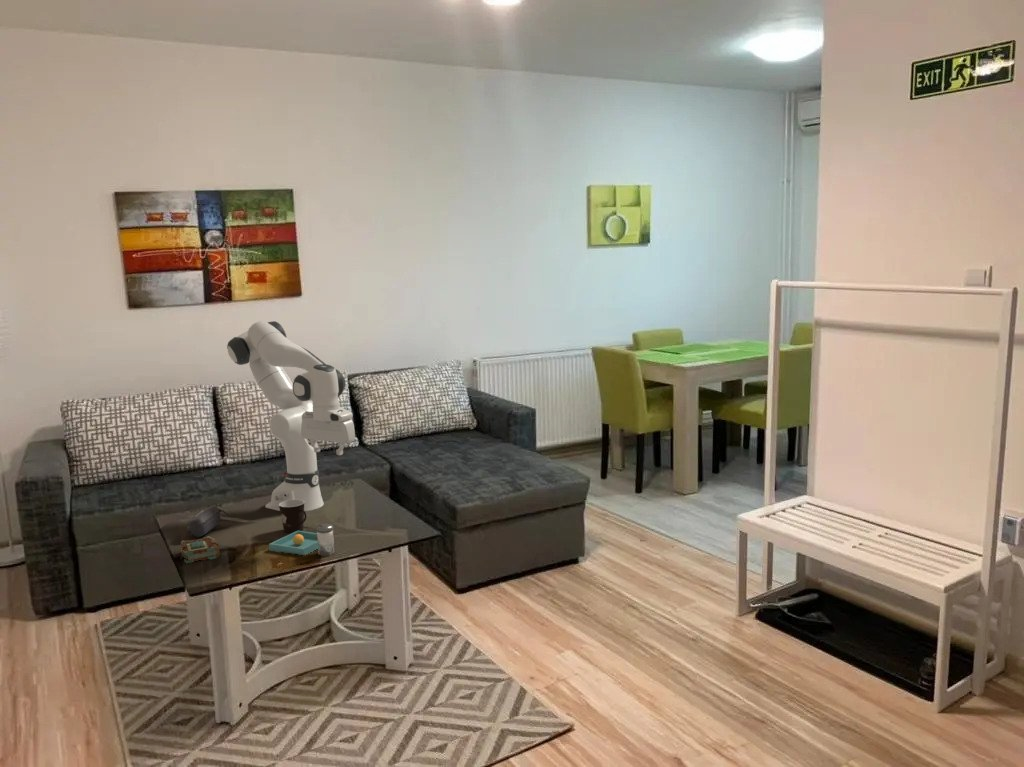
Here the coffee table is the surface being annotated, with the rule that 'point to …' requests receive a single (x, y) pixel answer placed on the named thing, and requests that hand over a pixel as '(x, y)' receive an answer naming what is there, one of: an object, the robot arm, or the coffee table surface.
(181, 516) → the coffee table surface
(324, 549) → the cup
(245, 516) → the coffee table surface
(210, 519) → the glasses case
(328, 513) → the coffee table surface
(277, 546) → the tray
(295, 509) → the coffee mug
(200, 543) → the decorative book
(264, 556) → the coffee table surface
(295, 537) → the ball
